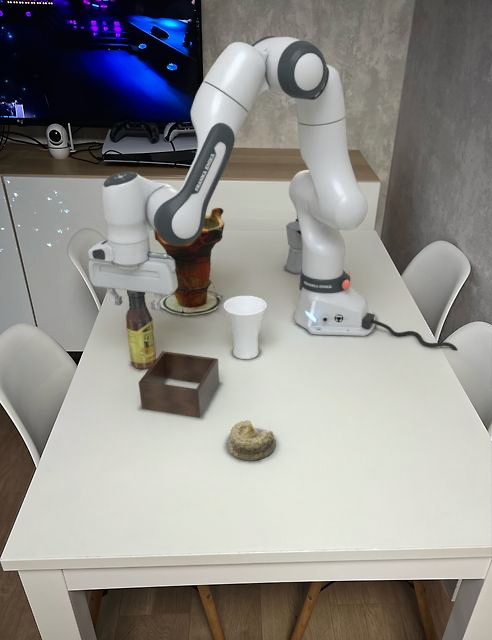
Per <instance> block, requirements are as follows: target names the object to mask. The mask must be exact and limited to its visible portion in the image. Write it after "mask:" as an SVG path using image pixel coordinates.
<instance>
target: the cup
mask: <svg viewBox="0 0 492 640" xmlns="http://www.w3.org/2000/svg"><path fill="white" fill-rule="evenodd" d="M267 306H268V305H267V302H266V301H265V300H264V299H263V298H261V297H259V296H258V297H257V296H253V295H237V296H232V297H230V298H228V299H227V300H225V302H224V303H223V309H224V311H225V314H226V317H227V319H228V323H229V325H230V329H231V333H232V340H233V347H232V354H233V356H234V357H236V358H238V359H240V360H250V359H254V358H256V357H257V356H258V355H259V354H260V353H259V333H260V328H261V324H262V321H263V318H264V315H265V313H266V309H267Z"/></svg>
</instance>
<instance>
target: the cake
mask: <svg viewBox="0 0 492 640" xmlns="http://www.w3.org/2000/svg"><path fill="white" fill-rule="evenodd" d="M276 445H277V442H276V438H275V435H274V432H273V431H272V430H270V429H269V430H268V431H267V430H265V429H261V428H255V427H254V426H253V423H252V421H251V420H248V419H246V420H240V421H239V422H236V423H235V424H234V425H233V426H232V427H231V429H230V433H229V435H228V441H227V446H226V447H227V451H228V452H229V453H230V455H232V456H233V457H234V458H236V459H239V460H243V461H248V462H249V461H258V460H262V459H264V458H266V457H268V456H270V455H271V454H272V453H273V451H274V450H275V449H276Z"/></svg>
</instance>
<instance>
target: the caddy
mask: <svg viewBox="0 0 492 640" xmlns="http://www.w3.org/2000/svg"><path fill="white" fill-rule="evenodd" d="M219 368H220V367H219V358H215V357H208V356H201V355H196V354H195V355H193V354H186V353H179V352H173V351H165V350H162V351H161V352H160V353H159V355H157V357H156V360H155V362H154V363H153V364H152V365H151V367H149V368H147V370H146V372H145V373H144V374H143V376H142V377H141V378H140V380H139V381H138V389H139V397H140V403H141V409H142V410H149V411H155V412H161V413H168V414H173V415H180V416H187V417H193V418H202V415H203V414H204V412H205V410H206V408H207V407H208V405H209V403H210V401H211V399H212V398H213V397H214V394H215V392H216V391H217V389H218V387H219V386H220V374H219V373H220V371H219V370H220V369H219ZM167 379H168V380H169V379H170V380H176V381H184V382H191V383H198V385H197V386H196V388H194V387H185V386H180V385H173V384H166V383H165V382H166V380H167Z"/></svg>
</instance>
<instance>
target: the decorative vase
mask: <svg viewBox="0 0 492 640" xmlns="http://www.w3.org/2000/svg"><path fill="white" fill-rule="evenodd" d="M223 214H224V209H223V208H222V207H214V208H212V209H211V211H210V213H206V216H205V222H204V227H203V230H202V232H201V234H200V235H199V236H198V238H197V239H195V240H194V241H193V242H191V243H190V244H187V245H184V246H173V245H170V244H168V243H166V242H165V241H164V240H163V239H162V238H161V237H160V235H159V234H158V233H157V231H156V230H153V233H154V239H155V241H157V242H158V243H159V244H160V246H162V248H163V250H164V251H165V253H166V254H168V255H169V256H171V257H172V258H173V259H174V260H175V267H176V269H175V272H176V276H177V282H178V287H177V289H176V290H175V292H174V293H173V294H171V295H165V296H163V297H162V299H161V300H160V308H162V309H164V310H166V311H167V312H170V313H172V314H177V315H183V316H184V317H185V316H191V315H193V316H196V315H197V316H198V315H203V314H208V313H211V312H213V311H216V310H217V309H218V304H220V303H221V300H222V298H221V296H220V295H216V293H212V292H210V291H208V290H209V287H210V286H211V284H213V281H212V280H211V279H210V277H211V272H212V271H211V269H212V267H211V265H212V258H211V257H212V250H213V249H214V247H215V246H216V245H217V244H218V243H219V242H221V241H222V240H223V234H224V229H225V222H224V221H223V219H222V215H223ZM213 288H214V290H215V292H217V290H216V289H215V286H213Z"/></svg>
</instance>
